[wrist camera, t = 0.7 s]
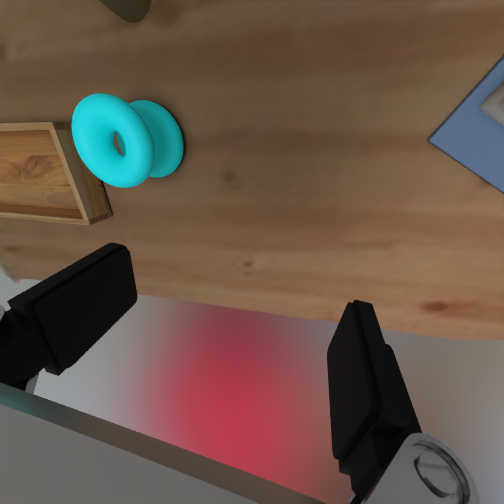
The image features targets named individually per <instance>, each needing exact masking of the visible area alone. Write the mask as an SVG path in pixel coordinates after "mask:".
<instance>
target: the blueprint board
mask: <svg viewBox="0 0 504 504" xmlns="http://www.w3.org/2000/svg"><path fill="white" fill-rule="evenodd" d="M503 80H504V56H503V57H502V58H501V59H500V60H499V61H498V62H497V63H496V64H495V66H494V67H493V68H492V69H491V70H490V71H489V72H488V73H487V74H486V76H485V77H484V78H483V79H482V80H481V81H480V82H479V83H478V84H477V85H476V87H475V88H474V89H473V90H472V91H471V92H470V93H469V94H468V95H467V97H466V98H465V99H464V100H463V101H462V102H461V103H460V104H459V105H458V107H457V108H456V109H455V110H454V111H453V112H452V113H451V114H450V115H449V116H448V118H447V119H446V120H445V121H444V122H443V123H442V124H441V125H440V126H439V128H438V129H437V130H436V131H435V132H434V133H433V134H432V135H431V136H430V137H429V139H428V140H427V141H428V142H430V143H431V144H433V145H434V146H436V147H437V148H439V149H440V150H441V151H443V152H444V153H446V154H447V155H449V156H450V157H452V158H453V159H454V160H456V161H457V162H459V163H460V164H462V165H463V166H465V167H466V168H467V169H469V170H470V171H472V172H473V173H475V174H476V175H478V176H479V177H480V178H482V179H483V180H485V181H486V182H488V183H489V184H491V185H492V186H493V187H495V188H496V189H498V190H499V191H501V192H502V193H504V126H503V125H501V124H500V123H499V122H497V121H496V120H494V119H493V118H492V117H490V116H489V115H487V114H486V113H485V112H483V111H482V110H480V109H479V108H478V107H479V106H480V105H481V104H482V103H483V101H484V100H485V99H486V98H487V97H488V96H489V95H490V94H491V93H492V92H493V91H494V90H495V89H496V88H497V87H498V86H499V85H500V84H501V83H502V81H503Z"/></svg>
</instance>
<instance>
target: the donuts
mask: <svg viewBox="0 0 504 504" xmlns="http://www.w3.org/2000/svg"><path fill="white" fill-rule="evenodd" d="M115 132H116V135H117V141H118V145H119V147H120V150H121V152H122V154H123V155H121V154H120V153H119V152H118V151H117V149H116V147H115V145H114V134H115ZM72 136H73V140H74V144H75V147H76V149H77V152H78V154H79V156H80V157H81V159H82V161H83V162H84V163H85V165H86V166H87V167H88V168H89V170H90V171H91V172H92V173H93V174H94V175H95V176H97V177H98V178H99V179H101V180H102V181H104V182H106V183H108V184H110V185H113V186H116V187H122V188H129V187H134V186H137V185H139V184H141V183H142V182H143V181H145V180H146V179H147V178H148V176H150V177H164V176H167V175H169V174H171V173H172V172H174V171H175V170H176V169H177V167H178V166H179V164H180V162H181V160H182V156H183V138H182V134H181V131H180V128H179V126H178V124H177V122H176V121H175V119H174V118H173V117H172V115H171V114H170V113H169V112H168V111H167V110H166V109H165V108H163V107H162V106H160V105H159V104H157V103H154V102H152V101H147V100H138V101H134V102H132V103H130V104H128V103H127V102H126V101H124V100H122V99H120V98H118V97H116V96H113V95H110V94H103V93H98V94H93V95H90V96H87V97H86V98H84V99H83V100H82V101H81V102H80V103H79V104H78V105H77V107H76V108H75V111H74V113H73V117H72Z"/></svg>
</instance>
